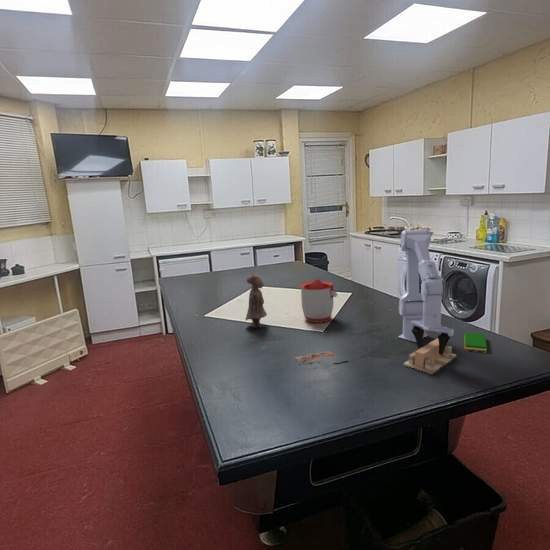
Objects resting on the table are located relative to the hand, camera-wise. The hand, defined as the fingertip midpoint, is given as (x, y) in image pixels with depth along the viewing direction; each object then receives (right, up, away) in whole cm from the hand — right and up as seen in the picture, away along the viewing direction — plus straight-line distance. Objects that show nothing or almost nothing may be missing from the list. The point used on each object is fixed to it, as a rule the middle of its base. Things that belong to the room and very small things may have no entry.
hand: (430, 350), depth 135 cm
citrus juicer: (-33, +5, +51) cm, 61 cm away
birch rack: (0, -4, +1) cm, 4 cm away
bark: (-39, -6, +7) cm, 40 cm away
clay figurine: (-63, +2, +46) cm, 78 cm away
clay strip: (0, -3, +1) cm, 3 cm away
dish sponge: (+22, -1, +13) cm, 26 cm away
